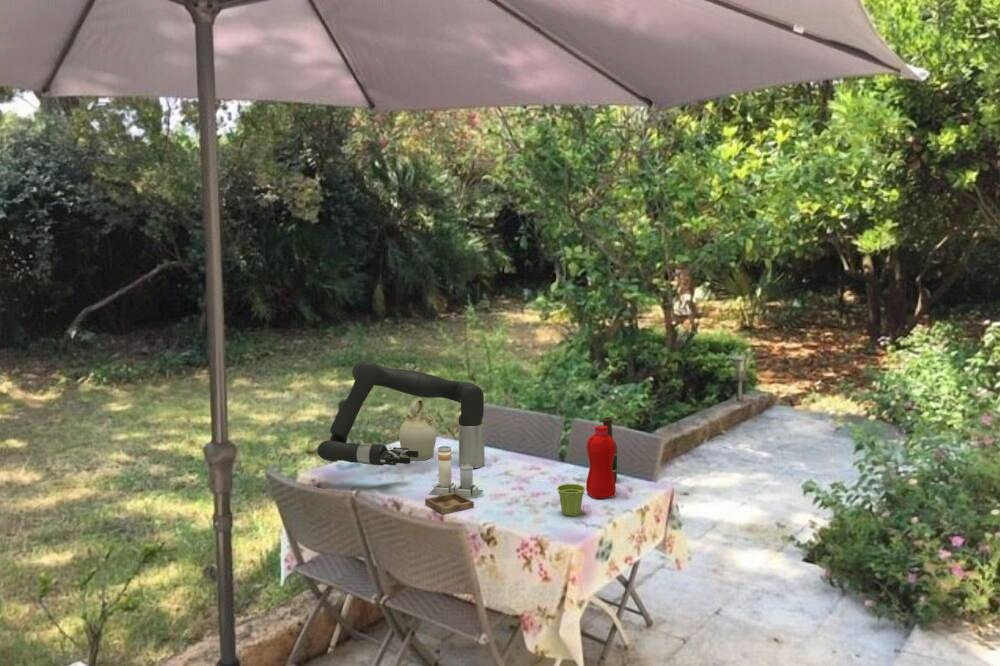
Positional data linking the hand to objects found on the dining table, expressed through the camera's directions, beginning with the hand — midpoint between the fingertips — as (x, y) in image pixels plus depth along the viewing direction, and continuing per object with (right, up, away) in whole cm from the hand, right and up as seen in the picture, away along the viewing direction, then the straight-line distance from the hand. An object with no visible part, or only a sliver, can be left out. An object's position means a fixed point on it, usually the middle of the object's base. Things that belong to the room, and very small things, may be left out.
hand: (414, 457), depth 292 cm
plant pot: (+54, -15, -21) cm, 60 cm away
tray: (+14, -15, -16) cm, 25 cm away
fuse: (+19, -12, -3) cm, 23 cm away
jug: (-3, -7, +46) cm, 46 cm away
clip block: (+15, -13, -2) cm, 20 cm away
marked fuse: (+11, -12, -1) cm, 16 cm away
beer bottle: (+71, -11, +12) cm, 72 cm away
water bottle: (+66, -13, -3) cm, 67 cm away
